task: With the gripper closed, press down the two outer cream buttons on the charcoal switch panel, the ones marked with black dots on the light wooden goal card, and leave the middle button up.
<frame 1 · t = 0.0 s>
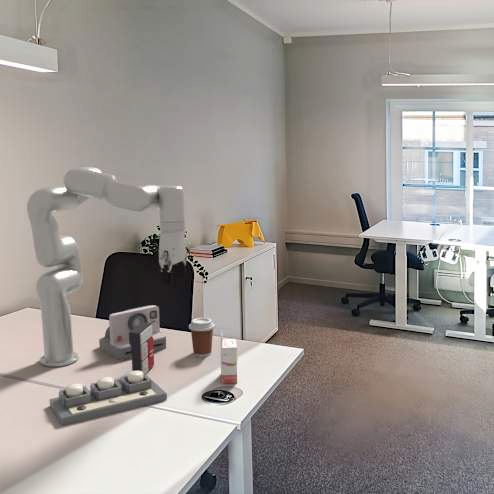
hand: (174, 280, 184), 31 cm above the table, tool pointing down, fingers open, 9 cm apart
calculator: (143, 372, 194), on the table
switch panel: (108, 402, 171), on the table
coffee cup: (202, 353, 210), on the table
button a: (74, 390, 167), point 5 cm above the table, slide at 0.0 cm
ink cartridge box: (229, 379, 187), on the table
button b: (105, 383, 172), point 5 cm above the table, slide at 0.0 cm
button c: (135, 377, 176), point 5 cm above the table, slide at 0.0 cm
instant camera: (132, 348, 217), on the table
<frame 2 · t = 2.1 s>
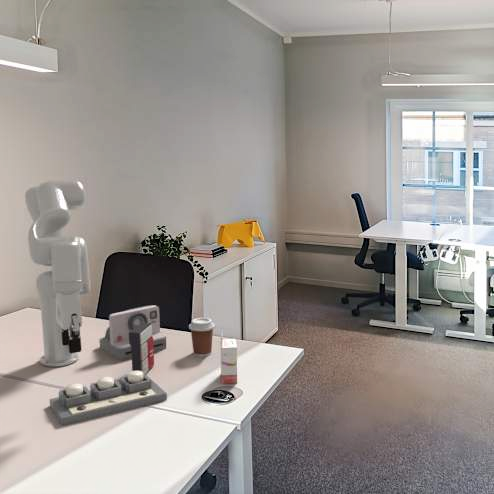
hand: (71, 347, 165), 18 cm above the table, tool pointing down, fingers open, 6 cm apart
nothing on the table moved.
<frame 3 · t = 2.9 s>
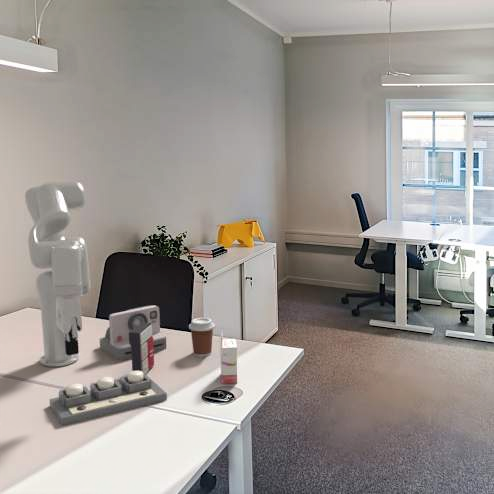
hand: (72, 353, 165), 16 cm above the table, tool pointing down, fingers closed
nothing on the table moved.
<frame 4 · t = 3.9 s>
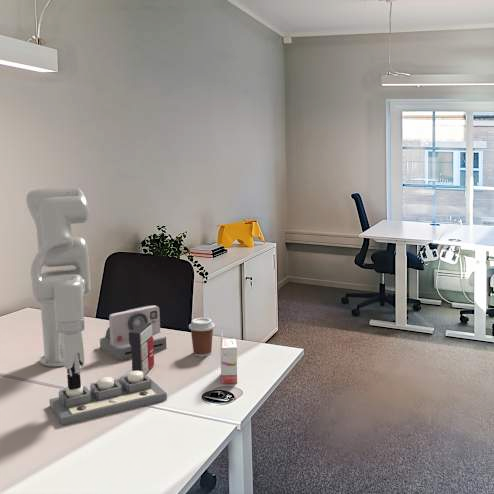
hand: (74, 387, 167), 6 cm above the table, tool pointing down, fingers closed
button a: (74, 391, 167), point 5 cm above the table, slide at 0.2 cm, touching gripper
everything else where it was.
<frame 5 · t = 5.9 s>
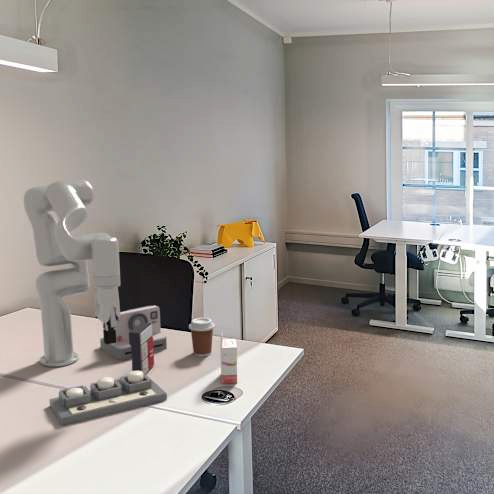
hand: (110, 342, 170), 17 cm above the table, tool pointing down, fingers closed
button a: (74, 395, 167), point 4 cm above the table, slide at 1.3 cm
everything else where it was.
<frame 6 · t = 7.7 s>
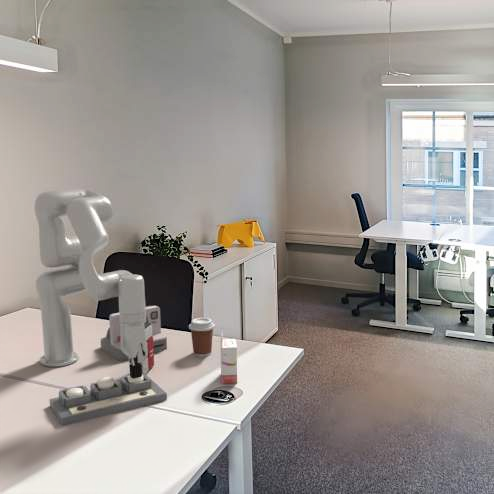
hand: (136, 376, 176), 5 cm above the table, tool pointing down, fingers closed
button c: (135, 380, 176), point 4 cm above the table, slide at 0.9 cm, touching gripper
everything else where it was.
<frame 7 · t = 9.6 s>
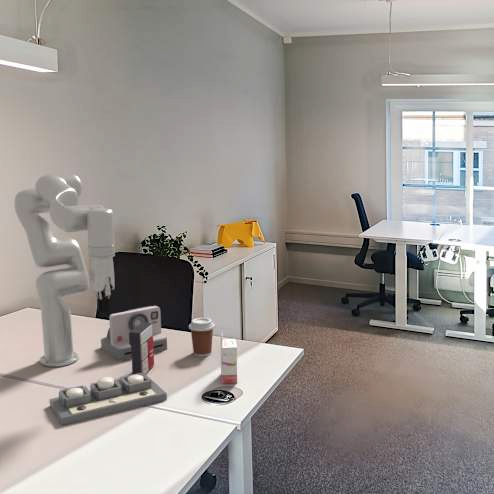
hand: (103, 311, 176), 25 cm above the table, tool pointing down, fingers closed
button c: (135, 381, 176), point 4 cm above the table, slide at 1.3 cm
everything else where it was.
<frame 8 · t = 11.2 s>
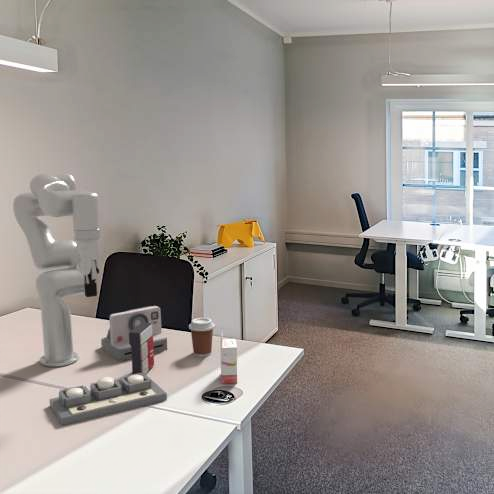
hand: (91, 295, 176), 29 cm above the table, tool pointing down, fingers closed
nothing on the table moved.
at the end: button a slide at 1.3 cm; button c slide at 1.3 cm; button b slide at 0.0 cm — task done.
